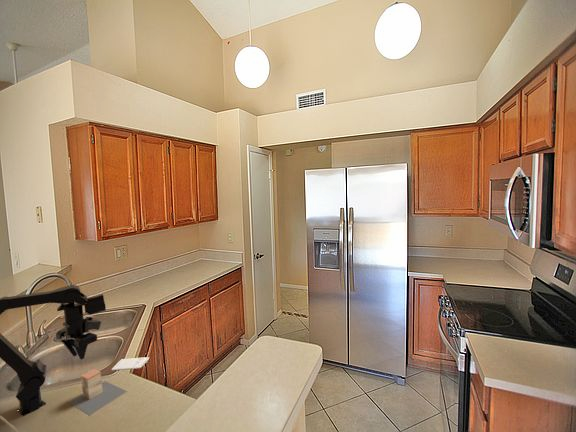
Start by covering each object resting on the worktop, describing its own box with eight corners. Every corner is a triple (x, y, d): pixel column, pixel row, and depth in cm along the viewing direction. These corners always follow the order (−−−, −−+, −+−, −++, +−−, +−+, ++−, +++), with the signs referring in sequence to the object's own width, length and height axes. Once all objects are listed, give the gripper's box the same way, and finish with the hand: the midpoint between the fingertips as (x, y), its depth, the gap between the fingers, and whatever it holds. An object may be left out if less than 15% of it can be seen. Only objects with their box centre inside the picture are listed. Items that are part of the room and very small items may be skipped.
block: (83, 396, 105) (80, 375, 105) (96, 388, 109) (94, 368, 109) (89, 399, 103) (87, 378, 103) (102, 391, 107) (100, 371, 107)
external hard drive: (121, 362, 129) (149, 359, 130) (111, 373, 121) (140, 370, 121) (121, 358, 129) (149, 356, 129) (111, 369, 121) (140, 366, 121)
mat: (67, 403, 102) (67, 402, 102) (105, 382, 114) (105, 381, 114) (89, 416, 95) (89, 415, 95) (127, 392, 107) (127, 391, 106)
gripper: (109, 313, 111) (113, 352, 112) (84, 307, 120) (88, 342, 121) (77, 325, 101) (82, 367, 102) (53, 317, 110) (57, 356, 111)
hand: (78, 357), depth 109 cm, fingers open, 5 cm apart
